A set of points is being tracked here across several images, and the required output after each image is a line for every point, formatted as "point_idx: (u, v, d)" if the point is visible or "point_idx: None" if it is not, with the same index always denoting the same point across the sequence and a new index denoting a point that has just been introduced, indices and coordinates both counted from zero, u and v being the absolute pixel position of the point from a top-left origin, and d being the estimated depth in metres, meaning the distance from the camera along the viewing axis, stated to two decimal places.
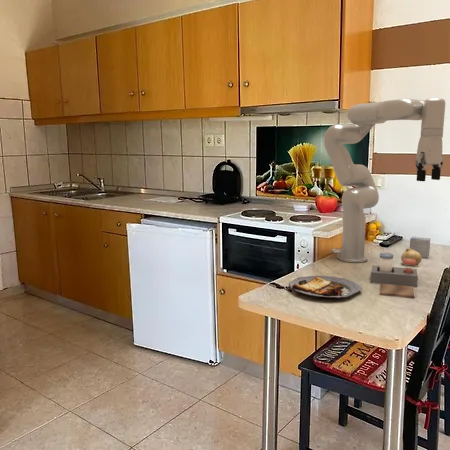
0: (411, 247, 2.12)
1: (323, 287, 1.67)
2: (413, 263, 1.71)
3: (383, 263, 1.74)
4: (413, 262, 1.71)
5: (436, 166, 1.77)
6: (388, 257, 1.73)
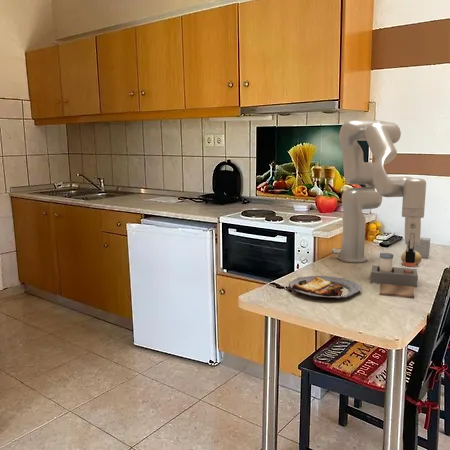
0: None
1: (323, 287, 1.67)
2: (413, 265, 1.71)
3: (383, 263, 1.74)
4: (413, 264, 1.71)
5: None
6: (388, 257, 1.73)
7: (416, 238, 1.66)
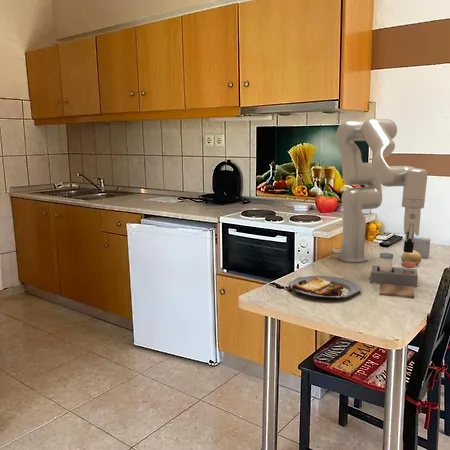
0: None
1: (323, 287, 1.67)
2: (413, 266, 1.71)
3: (383, 263, 1.74)
4: (413, 265, 1.71)
5: None
6: (388, 257, 1.73)
7: (415, 228, 1.66)
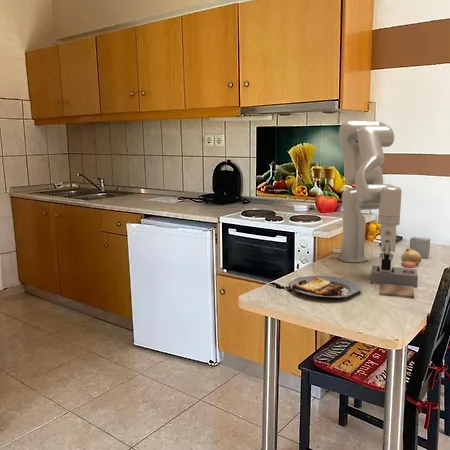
0: (411, 247, 2.12)
1: (323, 287, 1.67)
2: (413, 266, 1.71)
3: None
4: (413, 265, 1.71)
5: None
6: None
7: (391, 245, 1.69)
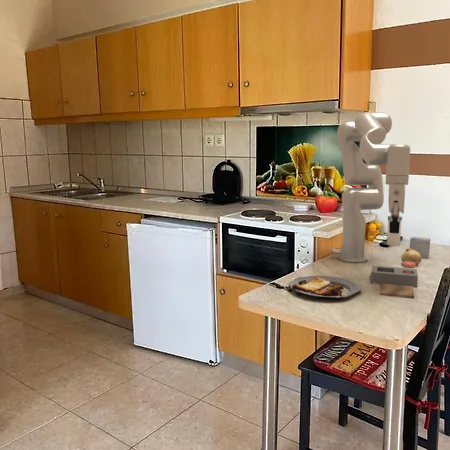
0: (411, 247, 2.12)
1: (323, 287, 1.67)
2: (413, 266, 1.71)
3: None
4: (413, 265, 1.71)
5: None
6: None
7: (400, 206, 1.60)
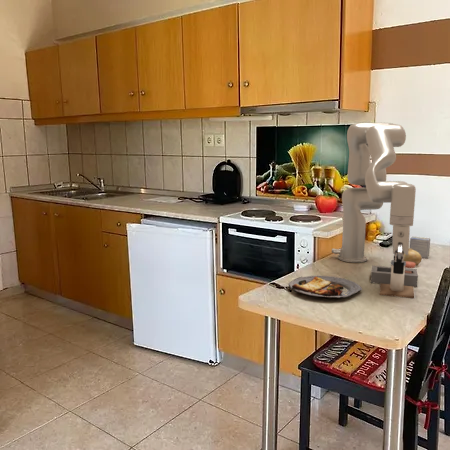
0: (411, 247, 2.12)
1: (323, 287, 1.67)
2: (413, 266, 1.71)
3: None
4: (413, 265, 1.71)
5: None
6: None
7: (404, 248, 1.56)
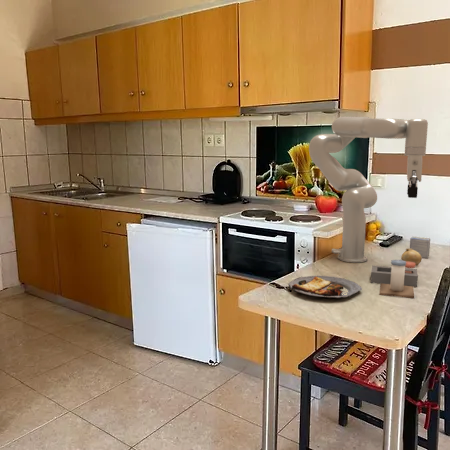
0: (411, 247, 2.12)
1: (323, 287, 1.67)
2: (413, 266, 1.71)
3: (395, 270, 1.61)
4: (413, 265, 1.71)
5: None
6: (400, 264, 1.60)
7: (418, 174, 1.77)
